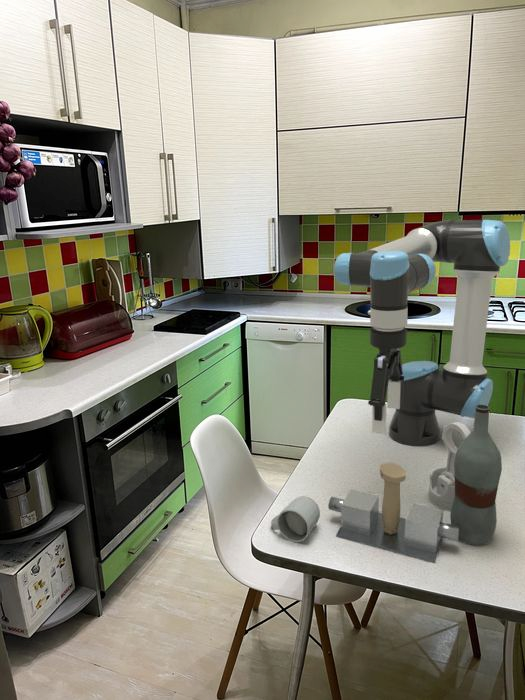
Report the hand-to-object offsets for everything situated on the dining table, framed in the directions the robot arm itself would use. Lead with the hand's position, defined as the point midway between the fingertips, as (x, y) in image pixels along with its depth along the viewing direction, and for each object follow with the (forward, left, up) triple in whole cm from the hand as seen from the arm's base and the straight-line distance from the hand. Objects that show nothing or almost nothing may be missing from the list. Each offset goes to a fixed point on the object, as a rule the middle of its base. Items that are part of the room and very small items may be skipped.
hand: (386, 419), depth 117 cm
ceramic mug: (+14, -17, -24) cm, 33 cm away
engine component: (-13, +13, -24) cm, 30 cm away
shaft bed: (+6, +3, -24) cm, 25 cm away
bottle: (-1, +19, -24) cm, 31 cm away
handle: (+6, +3, -24) cm, 25 cm away
